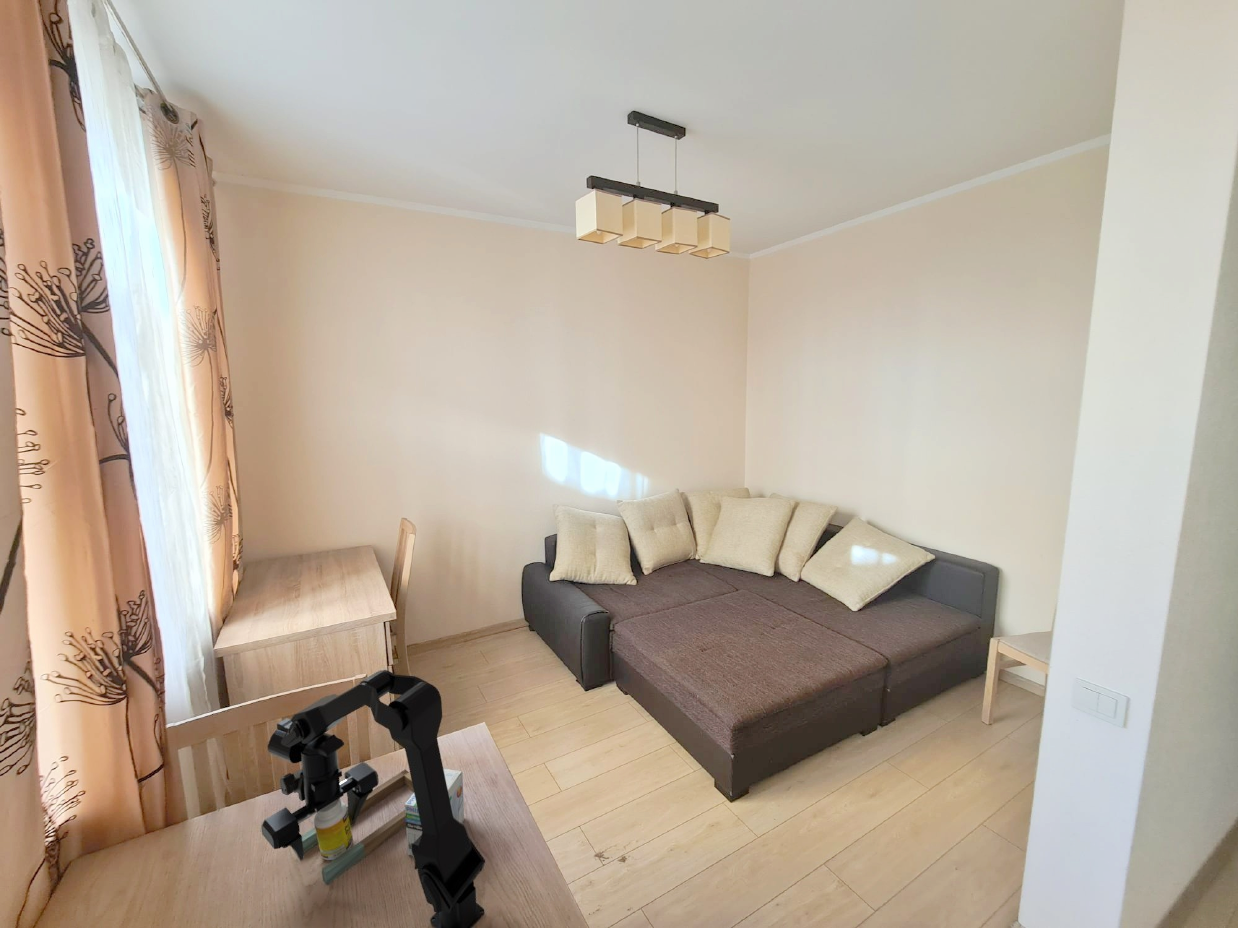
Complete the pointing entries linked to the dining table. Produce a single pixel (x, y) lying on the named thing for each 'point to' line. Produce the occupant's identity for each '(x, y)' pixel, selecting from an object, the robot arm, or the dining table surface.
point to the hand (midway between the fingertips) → (327, 840)
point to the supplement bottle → (333, 830)
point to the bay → (370, 841)
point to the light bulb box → (456, 799)
